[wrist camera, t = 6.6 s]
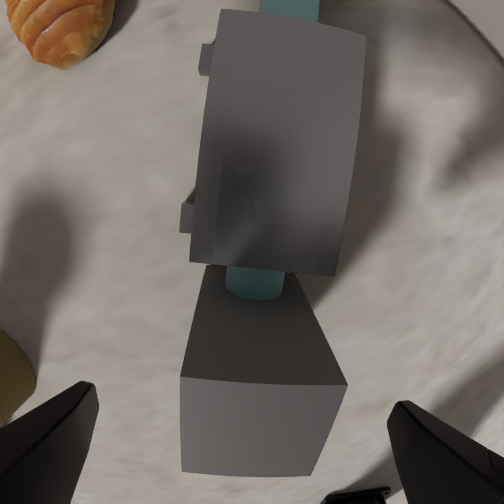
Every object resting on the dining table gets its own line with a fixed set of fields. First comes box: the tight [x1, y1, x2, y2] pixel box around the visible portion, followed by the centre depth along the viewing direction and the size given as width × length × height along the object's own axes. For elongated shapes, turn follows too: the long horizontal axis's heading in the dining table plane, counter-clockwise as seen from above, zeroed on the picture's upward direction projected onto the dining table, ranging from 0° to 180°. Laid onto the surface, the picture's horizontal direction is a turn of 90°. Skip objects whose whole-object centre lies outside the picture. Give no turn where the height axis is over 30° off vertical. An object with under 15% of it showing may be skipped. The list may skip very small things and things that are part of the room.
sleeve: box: [179, 9, 367, 276], centre depth 11 cm, size 6×8×5 cm
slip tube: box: [180, 0, 348, 477], centre depth 9 cm, size 4×24×8 cm, turn 173°
